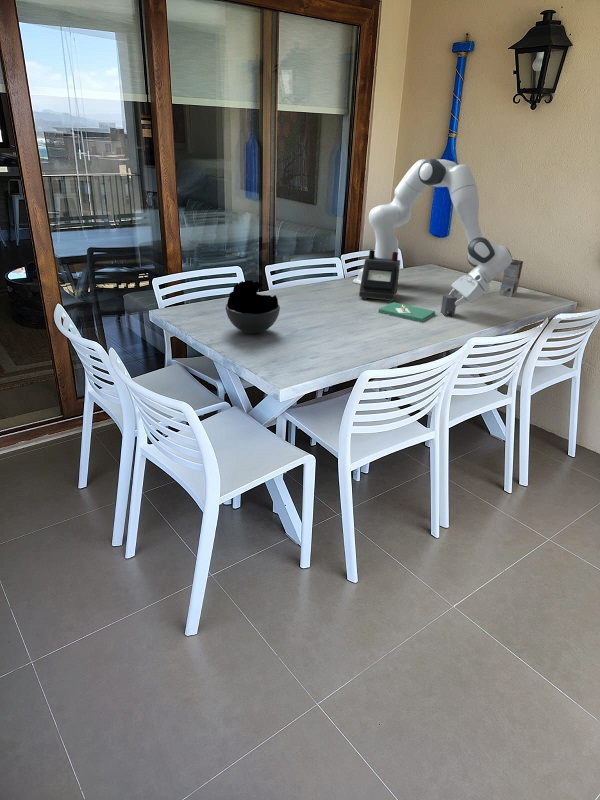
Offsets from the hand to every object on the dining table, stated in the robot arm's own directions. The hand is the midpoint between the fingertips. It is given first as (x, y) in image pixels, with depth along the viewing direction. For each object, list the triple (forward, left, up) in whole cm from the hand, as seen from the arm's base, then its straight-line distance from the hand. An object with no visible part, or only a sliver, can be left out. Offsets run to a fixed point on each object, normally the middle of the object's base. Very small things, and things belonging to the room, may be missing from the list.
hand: (451, 301), depth 231 cm
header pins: (-16, -14, -4) cm, 21 cm away
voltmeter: (-37, +3, -6) cm, 37 cm away
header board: (-15, -12, -6) cm, 20 cm away
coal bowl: (-49, -74, -6) cm, 88 cm away
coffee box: (+9, +53, -6) cm, 54 cm away
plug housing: (-1, -1, -6) cm, 6 cm away
